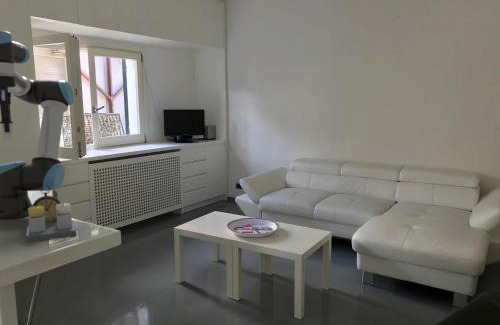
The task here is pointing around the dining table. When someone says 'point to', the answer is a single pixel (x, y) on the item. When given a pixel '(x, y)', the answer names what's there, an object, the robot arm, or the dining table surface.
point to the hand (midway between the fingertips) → (8, 141)
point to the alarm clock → (48, 207)
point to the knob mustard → (36, 211)
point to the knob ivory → (63, 208)
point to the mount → (50, 228)
